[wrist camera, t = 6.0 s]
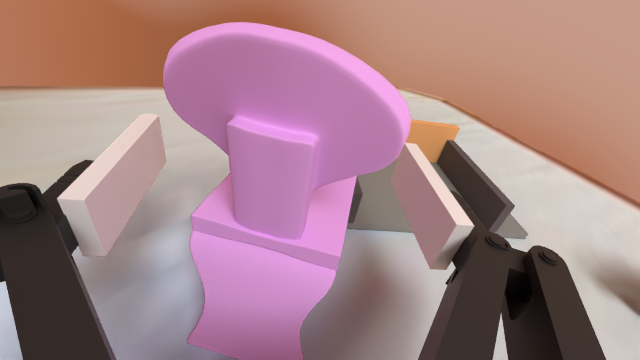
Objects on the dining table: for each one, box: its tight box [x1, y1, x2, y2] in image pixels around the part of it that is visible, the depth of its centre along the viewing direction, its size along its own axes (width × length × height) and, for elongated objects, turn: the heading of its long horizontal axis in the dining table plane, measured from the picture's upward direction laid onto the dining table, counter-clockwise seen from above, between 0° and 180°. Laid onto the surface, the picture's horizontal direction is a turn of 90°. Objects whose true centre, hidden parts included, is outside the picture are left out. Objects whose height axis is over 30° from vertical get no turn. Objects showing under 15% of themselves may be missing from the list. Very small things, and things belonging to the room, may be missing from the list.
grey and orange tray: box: [346, 120, 528, 239], centre depth 28 cm, size 20×13×5 cm, turn 95°
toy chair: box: [163, 22, 411, 360], centre depth 14 cm, size 8×9×15 cm
